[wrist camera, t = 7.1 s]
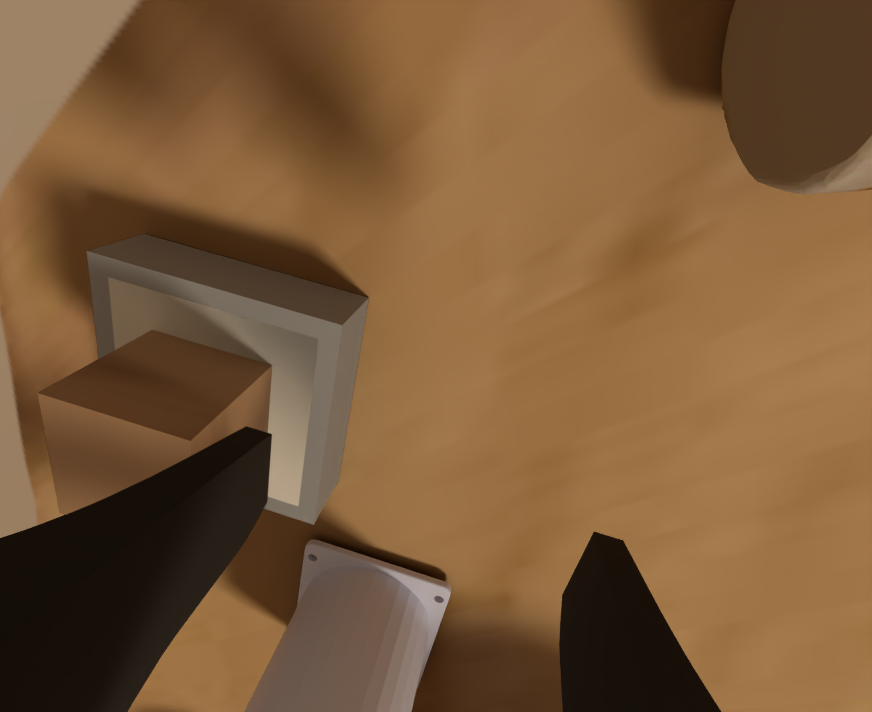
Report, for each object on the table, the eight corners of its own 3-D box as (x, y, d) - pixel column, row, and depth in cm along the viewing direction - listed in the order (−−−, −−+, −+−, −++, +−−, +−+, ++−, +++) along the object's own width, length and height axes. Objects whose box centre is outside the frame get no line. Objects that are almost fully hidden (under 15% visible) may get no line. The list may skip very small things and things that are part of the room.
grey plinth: (338, 481, 25) (313, 524, 23) (154, 423, 26) (109, 458, 23) (368, 297, 21) (342, 325, 18) (143, 233, 21) (86, 251, 19)
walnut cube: (265, 465, 22) (192, 556, 17) (157, 431, 22) (59, 512, 18) (272, 365, 19) (190, 440, 15) (152, 329, 20) (37, 392, 15)
